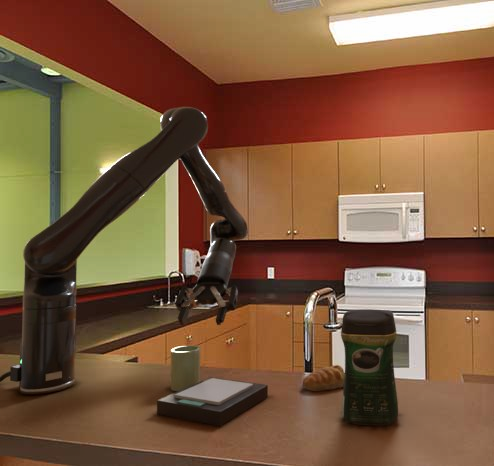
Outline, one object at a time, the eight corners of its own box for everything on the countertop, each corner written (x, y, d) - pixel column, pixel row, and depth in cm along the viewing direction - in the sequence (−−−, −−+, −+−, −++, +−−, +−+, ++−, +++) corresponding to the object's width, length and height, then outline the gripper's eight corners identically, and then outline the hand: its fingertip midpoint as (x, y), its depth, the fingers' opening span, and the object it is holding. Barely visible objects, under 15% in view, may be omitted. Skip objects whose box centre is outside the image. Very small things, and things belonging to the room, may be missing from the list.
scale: (156, 414, 71) (156, 396, 72) (211, 388, 84) (211, 374, 85) (220, 426, 66) (220, 407, 66) (267, 397, 79) (267, 381, 79)
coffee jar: (399, 410, 72) (398, 306, 73) (396, 430, 65) (395, 313, 65) (346, 407, 74) (345, 305, 75) (337, 425, 66) (336, 312, 67)
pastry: (313, 395, 80) (312, 376, 80) (295, 387, 85) (295, 368, 85) (349, 385, 86) (349, 367, 86) (331, 378, 91) (331, 361, 91)
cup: (164, 389, 84) (164, 350, 84) (185, 380, 90) (185, 344, 90) (185, 392, 82) (186, 353, 82) (205, 383, 87) (206, 346, 88)
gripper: (185, 262, 104) (164, 314, 92) (240, 261, 104) (226, 313, 92) (193, 281, 109) (174, 332, 97) (245, 280, 109) (233, 332, 97)
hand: (199, 323), depth 94 cm, fingers open, 8 cm apart
